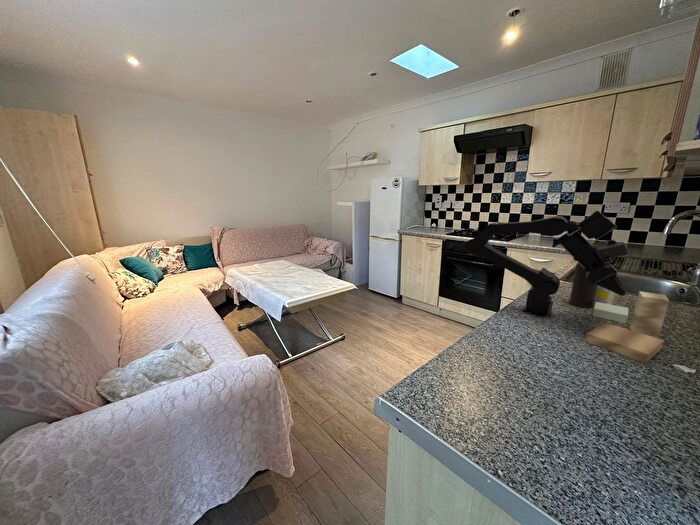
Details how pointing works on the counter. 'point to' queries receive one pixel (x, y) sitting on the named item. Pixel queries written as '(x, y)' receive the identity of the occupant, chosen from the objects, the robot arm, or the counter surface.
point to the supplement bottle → (604, 296)
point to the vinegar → (582, 289)
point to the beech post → (649, 314)
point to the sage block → (611, 312)
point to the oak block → (625, 342)
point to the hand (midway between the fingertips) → (622, 290)
